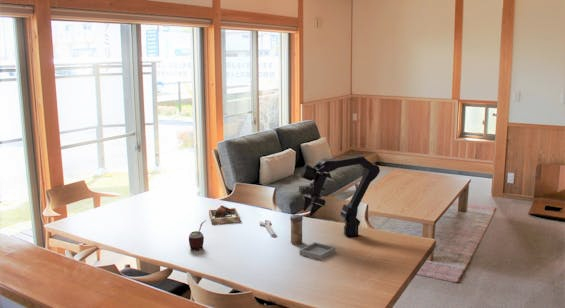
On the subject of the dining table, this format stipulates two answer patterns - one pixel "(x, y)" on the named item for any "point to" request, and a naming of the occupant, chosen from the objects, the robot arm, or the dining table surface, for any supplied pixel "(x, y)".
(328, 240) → the dining table surface
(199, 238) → the mate gourd
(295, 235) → the walnut canister
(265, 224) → the adjustable wrench
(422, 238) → the dining table surface
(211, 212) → the tray
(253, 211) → the dining table surface
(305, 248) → the tray
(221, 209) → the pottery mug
